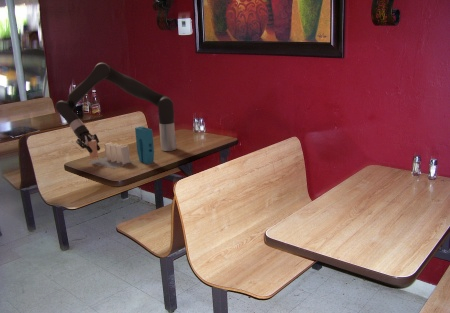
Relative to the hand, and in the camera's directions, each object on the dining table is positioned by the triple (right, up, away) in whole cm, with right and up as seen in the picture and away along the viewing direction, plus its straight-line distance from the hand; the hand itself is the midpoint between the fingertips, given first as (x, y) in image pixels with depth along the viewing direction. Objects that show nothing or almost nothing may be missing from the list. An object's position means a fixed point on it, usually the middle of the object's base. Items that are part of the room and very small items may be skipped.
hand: (95, 151), depth 267 cm
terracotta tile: (-1, -4, +2) cm, 5 cm away
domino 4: (+18, -7, -1) cm, 19 cm away
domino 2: (+10, -6, +4) cm, 13 cm away
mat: (+8, -7, +2) cm, 11 cm away
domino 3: (+14, -6, +2) cm, 16 cm away
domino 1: (+7, -5, +7) cm, 11 cm away
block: (+29, -7, +1) cm, 30 cm away
